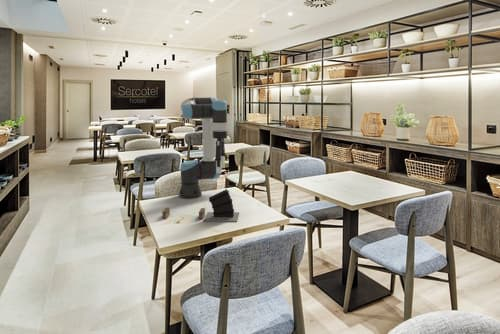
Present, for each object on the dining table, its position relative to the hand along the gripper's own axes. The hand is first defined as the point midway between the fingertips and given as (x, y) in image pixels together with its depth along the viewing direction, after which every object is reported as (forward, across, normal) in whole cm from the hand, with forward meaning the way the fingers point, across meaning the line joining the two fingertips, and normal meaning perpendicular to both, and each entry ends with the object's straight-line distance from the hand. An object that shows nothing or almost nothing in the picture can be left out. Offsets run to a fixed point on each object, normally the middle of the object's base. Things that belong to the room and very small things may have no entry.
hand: (220, 170), depth 186 cm
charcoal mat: (+26, 0, 0) cm, 26 cm away
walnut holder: (+26, 0, -21) cm, 34 cm away
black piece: (+26, 0, 0) cm, 26 cm away
